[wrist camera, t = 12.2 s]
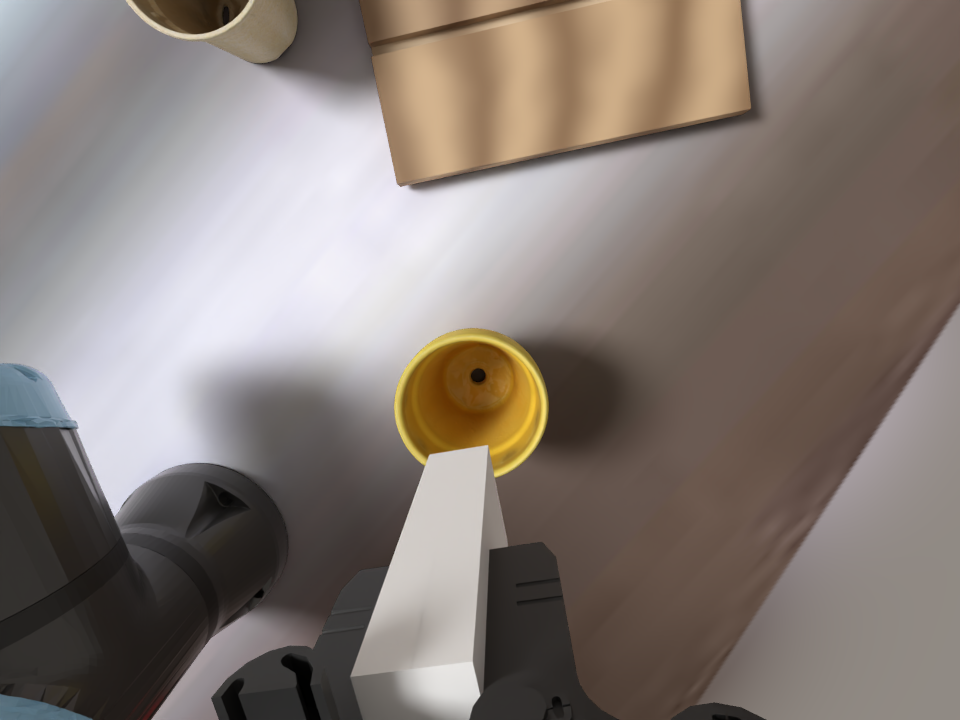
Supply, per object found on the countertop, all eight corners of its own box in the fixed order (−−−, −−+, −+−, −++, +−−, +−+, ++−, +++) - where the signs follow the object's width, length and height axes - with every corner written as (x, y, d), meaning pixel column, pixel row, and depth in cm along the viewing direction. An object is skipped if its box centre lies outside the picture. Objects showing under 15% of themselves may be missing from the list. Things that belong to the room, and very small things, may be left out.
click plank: (400, 186, 38) (397, 183, 37) (375, 64, 37) (370, 56, 36) (743, 114, 36) (751, 108, 35) (729, -19, 35) (737, -30, 34)
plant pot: (420, 309, 41) (395, 327, 32) (544, 319, 41) (557, 340, 31) (415, 426, 43) (390, 476, 34) (532, 436, 43) (541, 490, 34)
